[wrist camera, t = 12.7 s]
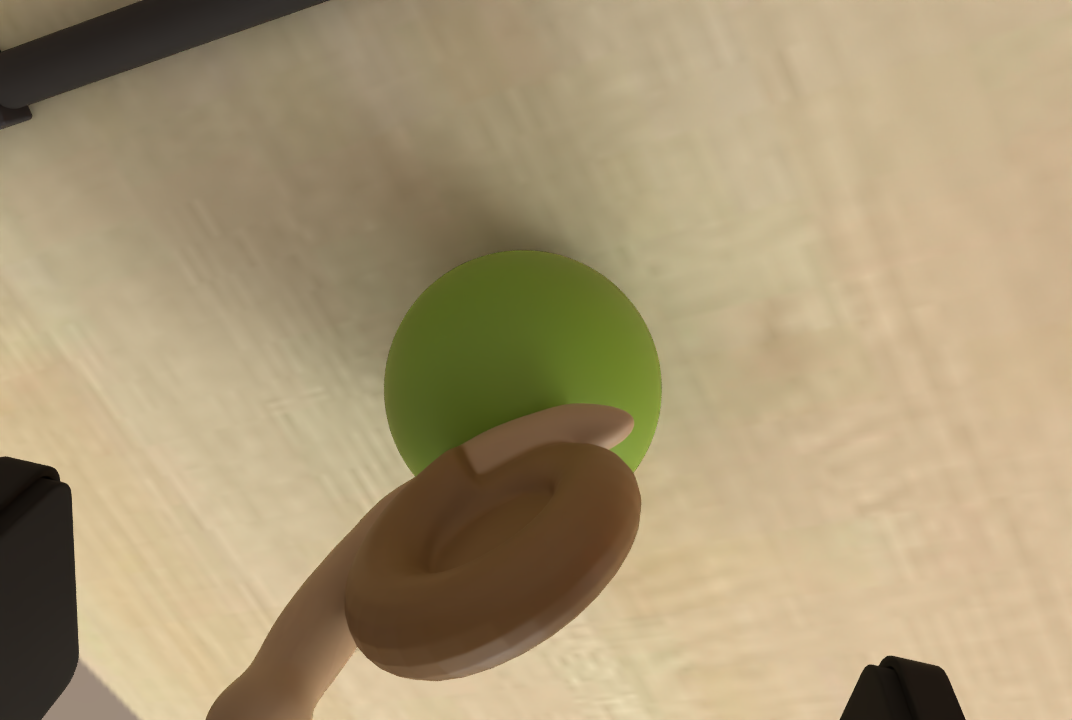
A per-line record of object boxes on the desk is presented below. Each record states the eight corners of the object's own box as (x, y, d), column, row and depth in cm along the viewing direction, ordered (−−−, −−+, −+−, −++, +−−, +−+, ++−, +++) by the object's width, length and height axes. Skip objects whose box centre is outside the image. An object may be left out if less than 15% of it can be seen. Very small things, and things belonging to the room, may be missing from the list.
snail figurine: (339, 312, 20) (-14, 701, 9) (582, 173, 19) (489, 456, 8) (467, 494, 22) (288, 1007, 11) (702, 382, 20) (769, 867, 9)
